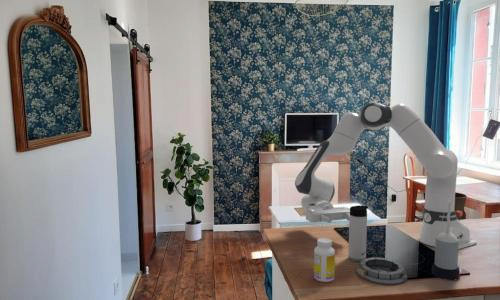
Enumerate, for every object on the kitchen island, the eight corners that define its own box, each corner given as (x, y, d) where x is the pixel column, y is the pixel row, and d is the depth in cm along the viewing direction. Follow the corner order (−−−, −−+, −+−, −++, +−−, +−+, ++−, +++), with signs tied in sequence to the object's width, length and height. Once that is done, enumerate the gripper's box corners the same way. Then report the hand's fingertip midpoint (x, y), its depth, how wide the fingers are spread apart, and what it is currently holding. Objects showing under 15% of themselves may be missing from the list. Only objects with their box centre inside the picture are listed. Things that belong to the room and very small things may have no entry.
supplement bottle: (335, 275, 124) (336, 238, 123) (333, 284, 118) (334, 244, 116) (315, 272, 126) (316, 236, 125) (312, 281, 120) (312, 242, 118)
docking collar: (386, 262, 135) (386, 254, 135) (418, 280, 120) (418, 271, 119) (347, 267, 130) (347, 259, 130) (376, 287, 115) (376, 278, 115)
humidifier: (463, 281, 120) (467, 205, 117) (436, 279, 121) (439, 204, 118) (454, 270, 128) (458, 199, 125) (428, 269, 129) (432, 198, 126)
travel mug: (367, 262, 134) (369, 208, 132) (348, 261, 136) (350, 207, 134) (365, 256, 141) (367, 204, 139) (347, 254, 142) (349, 203, 140)
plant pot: (430, 230, 172) (431, 196, 170) (428, 221, 185) (429, 190, 184) (467, 234, 166) (469, 199, 164) (462, 224, 180) (464, 192, 178)
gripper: (344, 216, 165) (362, 224, 152) (302, 219, 159) (317, 229, 146) (344, 202, 165) (363, 209, 151) (302, 205, 158) (318, 214, 145)
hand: (340, 219), depth 149 cm, fingers open, 8 cm apart
